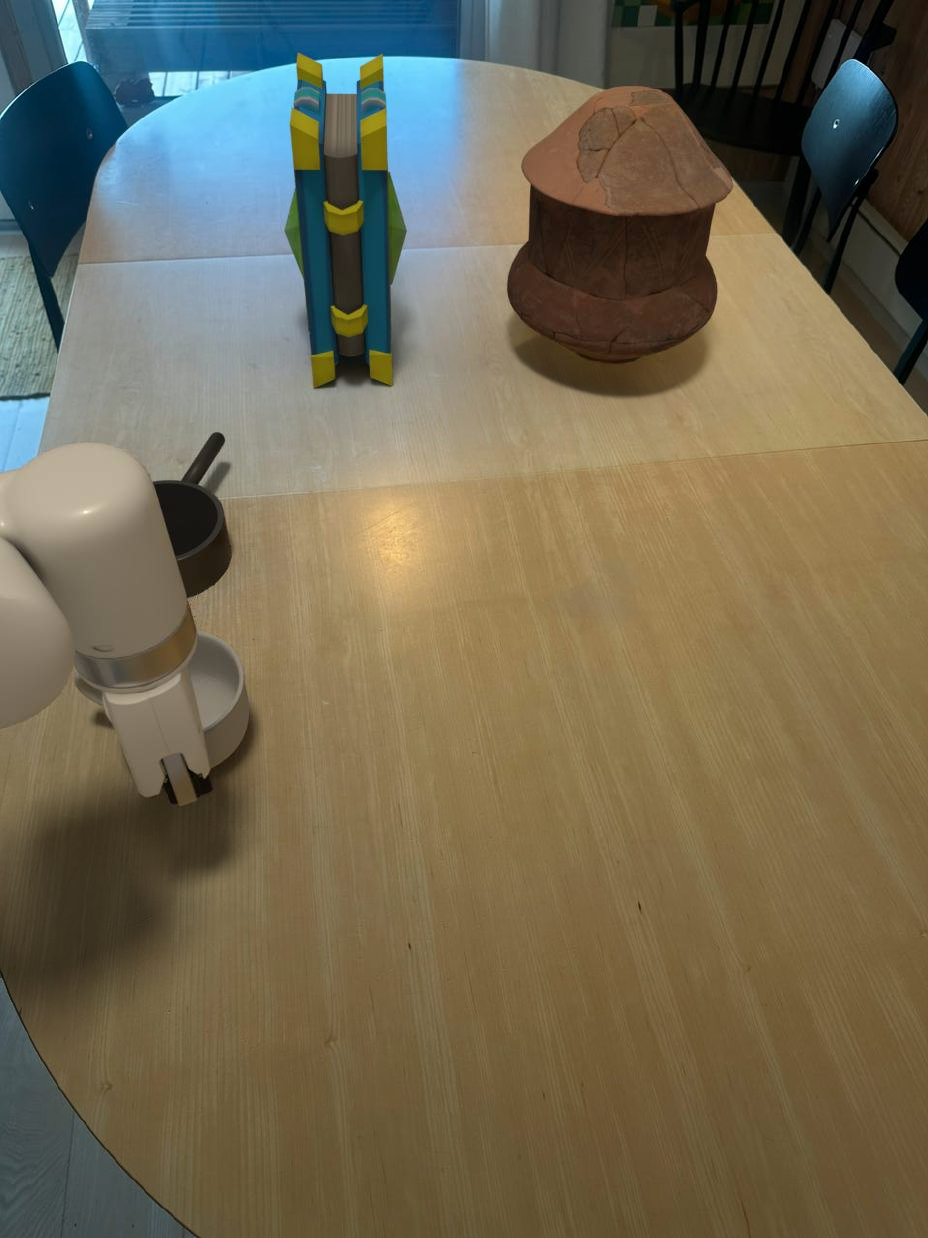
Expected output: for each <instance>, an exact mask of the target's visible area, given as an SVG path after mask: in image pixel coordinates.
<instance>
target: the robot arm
mask: <svg viewBox="0 0 928 1238" xmlns="http://www.w3.org/2000/svg"><path fill="white" fill-rule="evenodd" d="M188 598H189V597H188ZM188 598H187V595H186V591H185V588H184V585H183V581H182V578H181V575H180V571H179V568H178V565H177V561H176V558H175V555H174V551H173V548H172V544H171V541H170V538H169V534H168V531H167V528H166V524H165V521H164V518H163V514H162V511H161V507H160V504H159V501H158V497H157V494H156V490H155V488H154V485H153V479H152V477H151V475H150V472H149V471H148V469H147V468H146V466H145V465H144V464H143V463H142V462H141V461H140V460H139V459H138V458H137V457H136V456H134V455H133V454H132V453H131V452H129V451H127V450H126V449H123V448H121V447H119V446H116V445H113V444H109V443H104V442H93V441H85V442H83V441H81V442H73V443H68V444H63V445H60V446H55V447H53V448H50V449H48V450H46V451H43V452H41V453H40V454H38V455H37V456H35V457H33V458H31V460H29V461H28V462H26V463H25V464H23V465H22V466H21V467H18V468H14V469H9V470H5V471H1V472H0V730H1V729H7V728H10V727H12V726H16V725H18V724H21V723H23V722H25V721H27V720H29V719H32V718H33V717H35V716H36V715H39V714H40V713H41V712H43V711H44V710H46V709H47V708H49V707H50V706H51V705H52V704H53V702H54V701H55V700H56V699H57V698H58V697H59V696H60V695H61V694H62V692H63V691H64V689H65V687H66V686H67V684H68V682H69V680H70V678H71V676H72V672H73V671H74V668H75V670H76V671H77V672H78V674H79V675H80V677H81V678H82V679H83V680H84V681H85V682H86V683H87V684H89V685H91V686H92V687H94V688H96V689H99V690H101V691H102V694H103V697H104V700H105V703H106V706H107V709H108V712H109V715H110V718H111V721H112V723H113V725H112V727H113V726H114V727H113V729H114V731H115V734H116V737H117V739H118V742H119V744H120V747H121V750H122V752H123V755H124V757H125V759H126V762H127V764H128V768H129V771H130V773H131V776H132V777H133V781H134V783H135V785H136V789H137V791H138V794H140V795H141V796H144V797H145V798H149V797H154V796H156V795H160V793H161V790H162V787H163V789H164V791H165V794H166V796H167V799H168V800H169V803H170V804H171V805H177V804H178V806H179V807H182V806H185V805H189V804H192V803H194V802H198V799H199V798H200V797H202V796H204V795H207V794H210V793H212V792H213V791H214V787H213V783H212V781H211V776H210V772H211V769H210V766H209V760H208V754H207V749H206V744H205V738H204V733H203V728H202V723H201V719H200V714H199V709H198V705H197V701H196V697H195V693H194V689H193V685H192V681H191V677H190V674H189V670H188V667H187V664H188V663H189V662H190V660H191V659H192V657H193V655H194V653H195V651H196V647H197V643H198V634H197V631H198V628H197V626H196V622H195V620H194V616H193V612H192V608H191V605H190V603H189V599H188Z"/></svg>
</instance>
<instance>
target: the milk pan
mask: <svg viewBox="0 0 928 1238" xmlns="http://www.w3.org/2000/svg"><path fill="white" fill-rule="evenodd" d="M225 443H226V436H224V434H223V433H221V432H219V431H215V432H213V433H211V434H210V436H209V437H208V439H207V440H206V441H205V443H204V444H203V447H202V448H201V450H199V452H198V454H197V456H196V457H195V459H194V460H193V462H192V463H191V465H190V466H189V468H188V469H187V470H186V472H185V474H184V475H183V477H182V478H181V479H180V480H177V479H161V480H152V482H153V485H154V488H155V490H156V494H157V497H158V501H159V504H160V507H161V511H162V514H163V518H164V521H165V524H166V528H167V531H168V534H169V538H170V541H171V544H172V548H173V551H174V555H175V558H176V561H177V565H178V568H179V571H180V575H181V578H182V581H183V585H184V588H185V591H186V595H187V598H191V597H194V596H196V595H199V594H201V593H203V592H204V591H206V590H208V589H209V588H211V587H212V586H213V585H215V584H216V583H217V582H218V581H219V580H220V579H221V578H222V577H223V576H224V575H225V573H226V571H228V568H229V566H230V563H231V559H232V548H231V547H232V546H231V541H230V535H229V530H228V526H227V519H226V516H225V510H224V507H223V504H222V502H221V501H220V499H219V498H218V497H217V496H216V495H215V494H214V493H213V492H212V491H211V490H209V489H208V488H206V487H204V486H202V485H200V482H201V481H202V479H203V478H204V477H205V475H206V473H207V472H208V470H209V469H210V467H211V465H212V464H213V462H214V460H215V459H216V457H217V456H218V455H219V453H220V451H221V450H222V448H223V447H224V445H225Z"/></svg>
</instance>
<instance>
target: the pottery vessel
mask: <svg viewBox="0 0 928 1238" xmlns="http://www.w3.org/2000/svg"><path fill="white" fill-rule="evenodd" d="M520 169H521V172H522V174H523V176H524V178H525V179H526V180H527V182H528V183H529V184H530V185H529V186H530V187H529V208H528V209H529V211H528V237H527V238H528V240H527V241H526V242H525V243H524V244H523V245H522V246H521V247H520V248H519V250H518V251H517V253H516V255H515V257H514V258H513V260H512V262H511V265H510V268H509V271H508V274H507V282H506V293H507V298H508V302H509V304H510V306H511V307H512V310H513V311H514V312H515V314H516V315H517V317H518V318H519V319H520V320H521V321H522V322H523V323H524V324H525V325H526V326H527V327H529V328H530V329H531V330H533V331H535V332H536V333H538V334H539V335H540V336H542V337H544V338H546V339H548V340H549V341H552V342H553V343H555V344H557V345H559V346H561V347H563V348H565V349H566V350H569V351H571V352H574V353H575V354H576V355H578V356H579V357H580V358H583V359H585V360H587V361H591V362H596V363H601V364H602V363H603V364H610V365H611V364H612V365H621V364H622V365H623V364H628V363H633V362H635V361H638V360H639V359H640V358H642V357H647V356H651V355H655V354H658V353H661V352H664V351H667V350H669V349H672V348H674V347H677V346H679V345H680V344H683V343H684V342H685V341H688V340H689V339H690V338H692V337H693V336H694V335H695V334H697V333H698V332H699V331H701V330H702V329H703V328H704V327H705V326H706V325H707V324H708V322H709V321H710V320H711V319H712V316H713V314H714V313H715V310H716V306H717V302H718V301H717V300H718V294H719V293H718V291H719V289H718V282H717V277H716V274H715V271H714V270H715V269H714V267H713V266H712V263H711V262H710V260H709V258H708V257H707V251H708V246H709V242H710V236H711V231H712V230H711V229H712V223H713V219H714V214H715V209H716V205H717V204H718V203H721V202H722V201H724V200H725V199H726V198H727V197H728V195H729V194H731V193H732V191H733V189H734V182H733V177H732V175H731V173H730V171H729V170H728V168H727V167H726V166H725V164H724V163H723V162H722V161H721V160H720V159H719V158H718V157H717V156H716V154H715V153H714V152H713V151H712V150H711V148H710V146H709V145H708V144H707V142H706V141H705V139H704V138H703V137H702V135H701V133H700V132H699V130H698V129H697V128H696V126H695V125H694V123H693V121H691V119H690V117H689V116H688V115H687V114H686V113H685V112H684V110H683V109H682V108H681V107H680V105H679V104H678V103H677V101H675V99H674V98H673V97H672V96H671V95H670V94H669V93H667V92H664V91H663V90H662V89H660V88H659V89H658V88H652V87H647V86H642V85H623V86H615V87H611V88H607V89H604V90H602V91H598V92H596V93H594V94H593V95H592V96H591V97H590V98H588V100H586V101H585V102H584V103H583V104H581V105H580V106H579V107H578V108H577V109H576V110H575V111H573V113H571V114H570V115H569V116H568V117H567V118H565V119H564V120H563V121H562V122H561V123H560V124H559V125H558V126H557V127H556V128H555V129H554V130H553V131H552V132H550V133H549V134H548V135H546V136H545V137H544V138H543V139H541V140H539V142H537V143H535V144H534V145H533V146H532V147H531V148H529V150H527V152H525V155H523V158H522V161H521V166H520Z"/></svg>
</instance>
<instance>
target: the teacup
mask: <svg viewBox="0 0 928 1238" xmlns="http://www.w3.org/2000/svg"><path fill="white" fill-rule="evenodd" d="M197 634H198V643H197V647H196V651H195V653H194V655H193V657H192V659H191V660H190V662H189V663H188V664H187V667H188V670H189V674H190V677H191V681H192V685H193V689H194V693H195V697H196V701H197V705H198V709H199V714H200V719H201V723H202V728H203V733H204V738H205V744H206V749H207V754H208V760H209V766H210V770H211V769H213V768H215V767H216V766H218V765H220V764H222V763H223V762H224V761H225V760H227V759H228V758H229V757H230V756H231V755H232V754H233V753H234V752H235V751H236V749H237V748H238V746H239V745H240V744H241V742H242V741H243V739H244V737H245V734H246V731H247V729H248V725H249V721H250V705H249V703H250V702H249V696H248V690H247V685H246V677H245V676H246V674H245V668H244V666H243V663H242V660H241V658H240V656H239V655H238V653H237V652H236V650H235V649H234V648H233V647H232V646H231V645H230V644H229V643H228V642H226V641H225V640H224V639H222V638H220V637H219V636H217V635H215V634H212V633H210V632H206V631H204V630H197ZM73 675H74V676H73V683H74V685H75V688H76V689H77V690H78V691H79V693H81V695H83V696H84V697H86V699H88V700H90V701H92V702H93V703H95V704H97V705H99V706H100V707H103V710H104V713H105V717H106V718H107V720H108V721H109V723H110V724H111V725H112V727H113V728H114V726H113V723H112V721H111V718H110V715H109V712H108V709H107V706H106V703H105V700H104V697H103V694H102V691H101V690H99V689H96V688H94V687H92V686H91V685H89V684H87V683H86V682H85V681H84V680H83V679H82V678H81V677H80V675H79V674H78V672H77V670H76V671H75V673H74V674H73Z"/></svg>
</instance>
